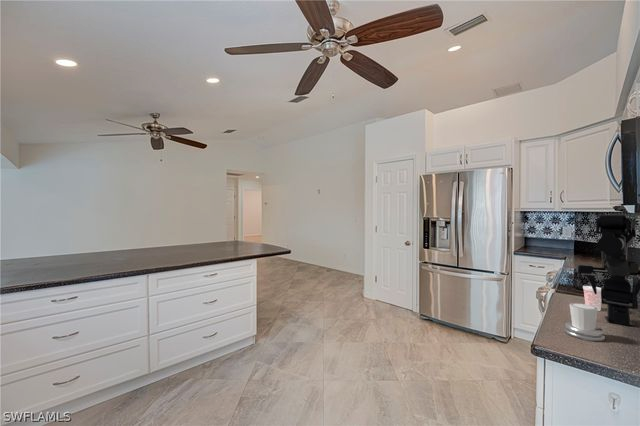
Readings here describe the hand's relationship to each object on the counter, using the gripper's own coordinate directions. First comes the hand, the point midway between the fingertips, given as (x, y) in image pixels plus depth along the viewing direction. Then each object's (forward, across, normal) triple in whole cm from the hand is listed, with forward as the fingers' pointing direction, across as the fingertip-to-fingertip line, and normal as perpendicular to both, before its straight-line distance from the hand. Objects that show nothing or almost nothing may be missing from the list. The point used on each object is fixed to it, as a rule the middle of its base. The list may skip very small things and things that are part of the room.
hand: (614, 296), depth 96 cm
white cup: (+10, -9, -10) cm, 16 cm away
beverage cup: (+12, -2, +26) cm, 29 cm away
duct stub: (+12, -9, -10) cm, 18 cm away
